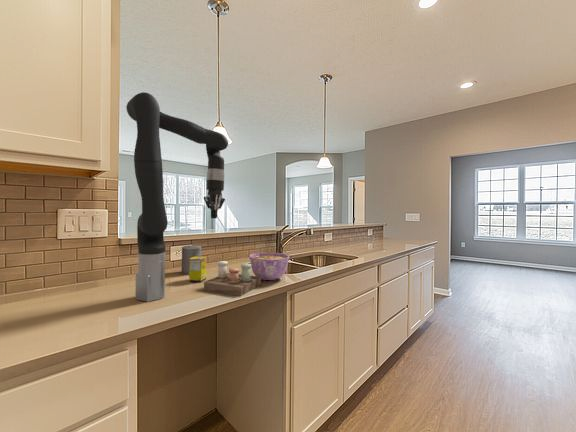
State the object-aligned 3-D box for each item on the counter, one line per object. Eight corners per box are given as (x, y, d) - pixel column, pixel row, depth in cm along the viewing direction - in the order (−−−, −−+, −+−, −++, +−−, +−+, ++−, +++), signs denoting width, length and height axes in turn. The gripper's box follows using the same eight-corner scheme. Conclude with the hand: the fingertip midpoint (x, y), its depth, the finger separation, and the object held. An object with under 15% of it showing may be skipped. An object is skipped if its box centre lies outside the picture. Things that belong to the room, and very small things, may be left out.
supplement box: (206, 279, 133) (206, 256, 132) (201, 282, 127) (201, 259, 126) (194, 278, 133) (194, 256, 133) (188, 281, 127) (189, 258, 127)
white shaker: (223, 279, 120) (224, 263, 120) (215, 278, 122) (215, 262, 121) (229, 276, 124) (229, 261, 124) (221, 275, 126) (221, 260, 125)
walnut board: (241, 296, 109) (241, 287, 109) (203, 290, 116) (204, 281, 115) (261, 284, 126) (261, 277, 126) (227, 279, 132) (227, 272, 132)
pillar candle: (180, 270, 147) (181, 243, 147) (199, 269, 151) (200, 242, 151) (182, 275, 139) (182, 246, 138) (202, 273, 143) (202, 245, 142)
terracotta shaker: (235, 286, 118) (235, 270, 118) (226, 285, 120) (227, 269, 119) (240, 284, 122) (241, 268, 122) (232, 282, 124) (232, 267, 123)
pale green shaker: (247, 282, 116) (248, 266, 116) (238, 281, 117) (239, 265, 117) (252, 280, 120) (253, 264, 120) (243, 278, 122) (244, 263, 121)
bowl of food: (270, 286, 123) (271, 261, 122) (240, 278, 135) (240, 255, 135) (296, 278, 139) (297, 255, 138) (267, 271, 151) (267, 251, 150)
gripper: (213, 177, 115) (211, 219, 115) (230, 181, 127) (229, 218, 128) (198, 177, 118) (197, 218, 118) (217, 181, 130) (216, 217, 130)
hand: (214, 218), depth 123 cm, fingers closed
